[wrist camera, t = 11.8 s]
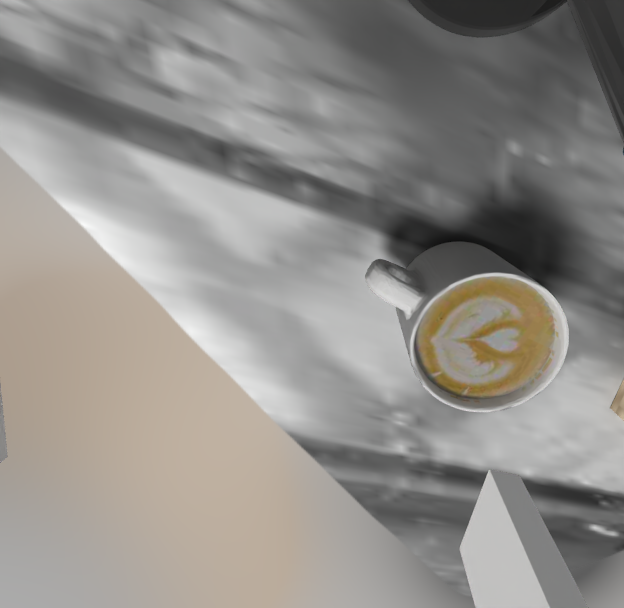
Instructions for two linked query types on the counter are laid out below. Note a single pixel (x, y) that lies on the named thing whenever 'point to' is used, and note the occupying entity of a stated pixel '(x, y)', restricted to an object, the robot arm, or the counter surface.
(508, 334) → the coffee mug
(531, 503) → the robot arm
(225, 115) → the counter surface
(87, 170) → the counter surface
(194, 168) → the counter surface
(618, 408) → the divided wooden tray
